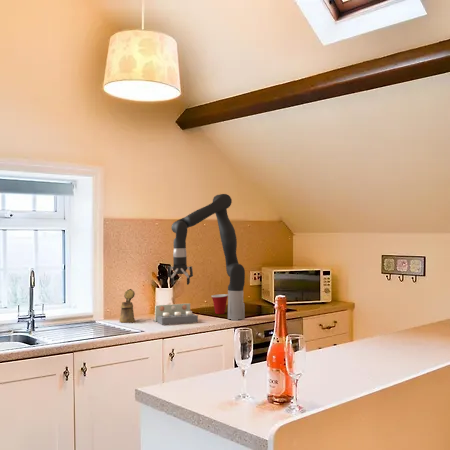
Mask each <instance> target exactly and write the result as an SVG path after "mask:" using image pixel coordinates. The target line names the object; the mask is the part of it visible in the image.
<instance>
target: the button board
mask: <svg viewBox="0 0 450 450" xmlns="http://www.w3.org/2000/svg"><path fill="white" fill-rule="evenodd" d="M198 321H199V315H197V314H195V313H192V315H191V316H186V314H181V316H176V317H175V315H169V317H163V316H157V322H156V323H157V324H159V325H161V326H167V325H169V324H171V325H181V324H180V323H184V324H194V323H193V322H198ZM169 326H170V325H169Z"/></svg>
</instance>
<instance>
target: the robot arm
mask: <svg viewBox="0 0 450 450" xmlns="http://www.w3.org/2000/svg"><path fill="white" fill-rule="evenodd" d="M232 203H233V200H232V197H231V196H230V195H229V194H227V193H219V194H216V195H215V196H214V197H213V198H212V202H211V203H209V204H207V205H206V206H203V207H201V208H198V209H196V210H194V211H193V212H191V213H189V214H188V215H186V216H184V217H182V218H180V219H178V220H176V221H174V222H173V223H172V225H171V228H170V229H171V231H172V232H173V233H174V234H175V238H173V252H172V254H173V255H172V256H173V257H172V259H173V260H172V261H173V265H172V266H170V265H169V266H168V267H167V278H170V284H171V285H172V286H174V285H175V278H174V277H175V276H176V275H185V276H186V285H187V286H188V285H189V284H190V283H191V279H190V278H192V277H193V276H194V272H193V266H192V265H190V266H188V265H187V264H188V263H187V262H188V261H187V259H188V258H187V257H188V256H187V242H186V241H187V236H188V228H192V227H194V226H196V225H197V224H199V223H201V222H203V221H205V220H206V219H208V218H209V217H211V216H212V215H215V216H216V221H217V226H218V231H219V237H220V241H221V245H222V250H223V253H224V258H225V259H224V261H225V267H226V275H227V276H228V277H229V284H228V285H227V294H228V297H227V320H229V319H231V320H230V321H239V320H238V319H242V320H245V317H246V315H245V312H246V311H245V310H246V309H245V308H246V307H245V305H246V304H245V302H244V287H245V284H246V283H245V280H246V279H245V278H246V271H245V267H244V266H243V265H242V264H241V263H239V260H238V257H237V247H238V246H237V245H238V241H237V239H238V238H237V235H236V229H235V227H234V226H233V224H232V222H231V220H230V217H229V215H228V210H227V209H229V208H230V207H231V206H232ZM187 270H188V271H189V273H188V271H187ZM171 271H173V273H172V272H171ZM171 273H172V274H171Z"/></svg>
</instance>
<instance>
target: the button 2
mask: <svg viewBox="0 0 450 450" xmlns="http://www.w3.org/2000/svg"><path fill="white" fill-rule="evenodd" d="M192 314H193V311H192V310H190V311H186V316H191V315H192Z"/></svg>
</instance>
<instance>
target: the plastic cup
mask: <svg viewBox="0 0 450 450" xmlns="http://www.w3.org/2000/svg"><path fill="white" fill-rule="evenodd" d="M211 298H212V299H211V300H212V302H213V303H212V304H213V308H214V313H215V314H216V315H225V314H226V307H227V303H228V293H226V294H224V293H223V294H221V293H220V294H214V295H213V294H212V295H211Z"/></svg>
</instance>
